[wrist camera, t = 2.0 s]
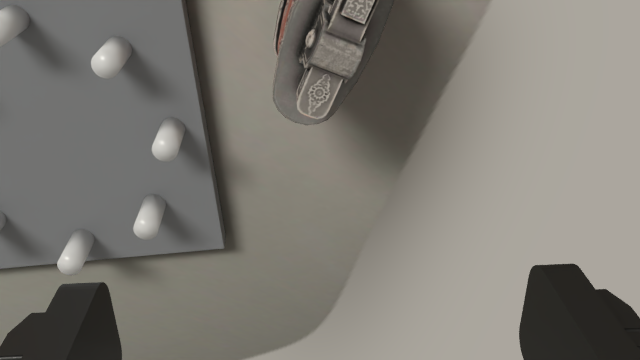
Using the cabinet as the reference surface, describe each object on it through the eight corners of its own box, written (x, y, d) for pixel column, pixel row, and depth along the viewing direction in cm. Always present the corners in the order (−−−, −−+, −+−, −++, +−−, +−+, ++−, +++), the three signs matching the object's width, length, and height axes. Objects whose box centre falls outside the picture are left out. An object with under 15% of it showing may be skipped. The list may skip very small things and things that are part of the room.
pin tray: (-151, -8, 28) (-208, 11, 24) (179, -34, 28) (167, -19, 25) (-36, 260, 35) (-69, 302, 31) (225, 236, 35) (220, 275, 32)
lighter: (322, 76, 31) (340, 165, 22) (259, 52, 30) (252, 135, 21) (391, -83, 27) (444, -51, 19) (322, -115, 27) (345, -98, 18)
